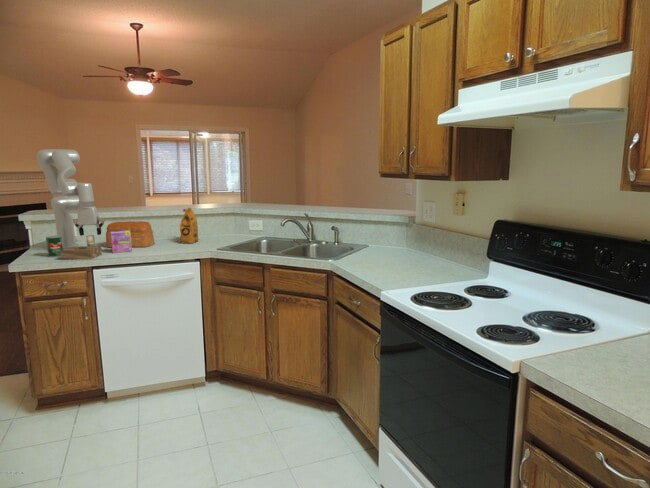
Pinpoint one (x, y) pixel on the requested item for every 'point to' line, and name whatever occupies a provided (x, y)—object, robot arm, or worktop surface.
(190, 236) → the coffee package
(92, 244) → the peg
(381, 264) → the worktop surface
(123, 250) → the box
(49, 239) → the canned tomato
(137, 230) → the bread
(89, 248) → the board
